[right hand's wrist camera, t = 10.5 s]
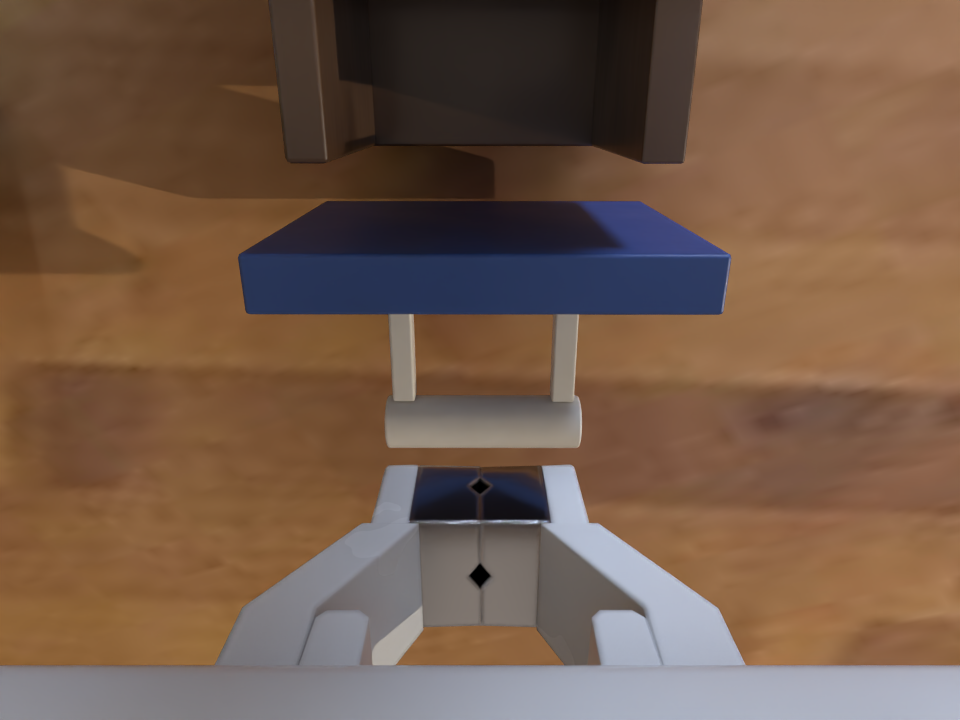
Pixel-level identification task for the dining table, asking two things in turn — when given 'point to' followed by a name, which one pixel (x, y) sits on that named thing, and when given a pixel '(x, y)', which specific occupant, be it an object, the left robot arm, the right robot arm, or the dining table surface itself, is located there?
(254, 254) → the drawer
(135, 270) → the dining table surface
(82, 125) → the dining table surface
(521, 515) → the right robot arm
